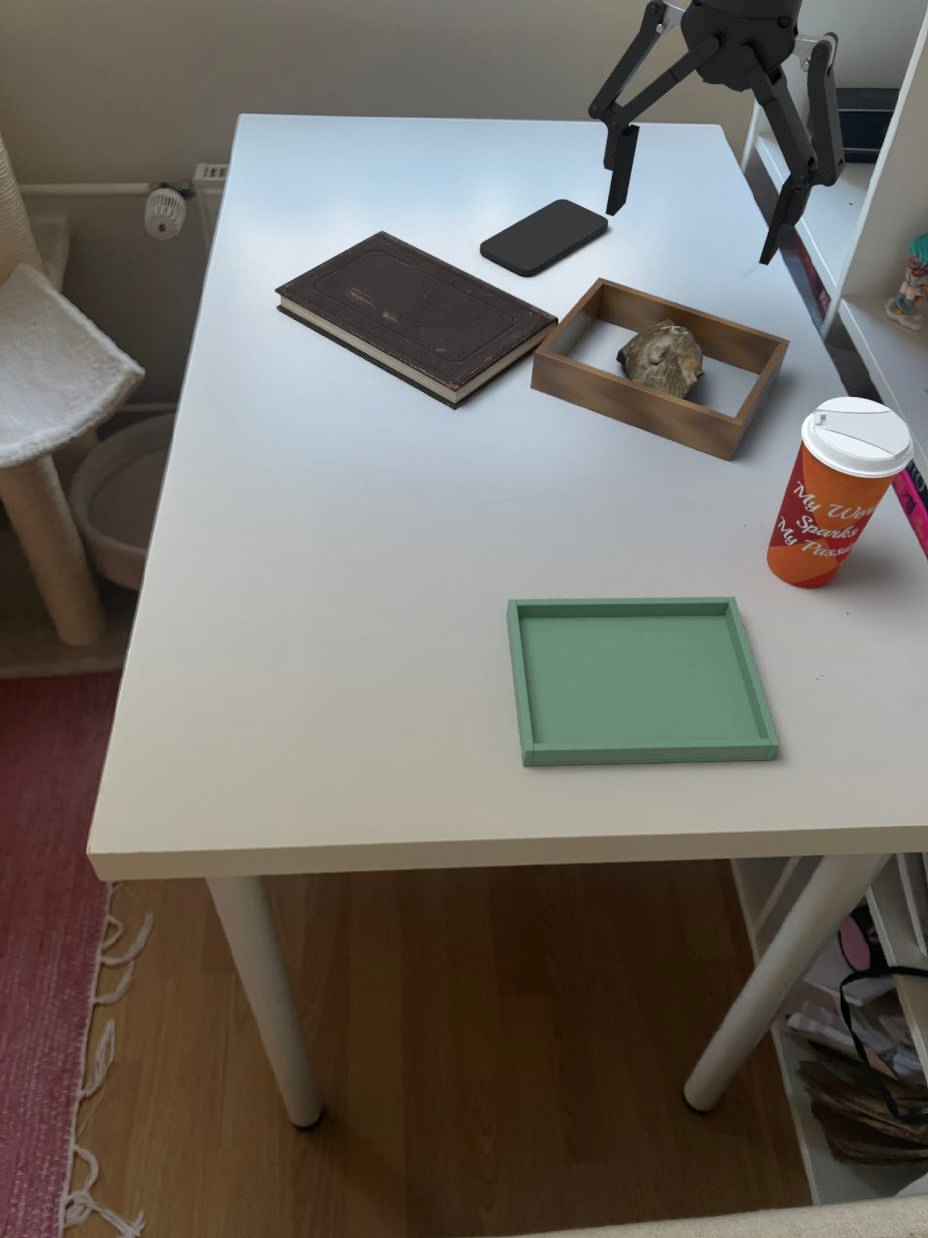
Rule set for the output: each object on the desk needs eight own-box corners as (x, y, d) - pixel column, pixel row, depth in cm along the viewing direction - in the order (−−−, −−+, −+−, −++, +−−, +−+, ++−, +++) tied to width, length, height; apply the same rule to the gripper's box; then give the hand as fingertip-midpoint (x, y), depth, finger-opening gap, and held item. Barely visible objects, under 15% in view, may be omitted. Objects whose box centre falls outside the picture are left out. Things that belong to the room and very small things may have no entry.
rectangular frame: (778, 375, 97) (790, 340, 94) (728, 461, 88) (740, 425, 85) (593, 312, 102) (599, 276, 99) (529, 387, 94) (534, 351, 91)
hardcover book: (454, 409, 91) (455, 389, 89) (276, 309, 100) (274, 288, 98) (557, 334, 99) (560, 314, 98) (385, 247, 108) (385, 227, 106)
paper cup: (750, 587, 79) (805, 450, 68) (755, 520, 84) (808, 383, 73) (851, 608, 78) (923, 473, 67) (850, 540, 83) (918, 403, 72)
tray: (728, 612, 77) (734, 596, 76) (772, 760, 69) (780, 745, 67) (506, 615, 76) (508, 599, 74) (522, 766, 67) (525, 750, 66)
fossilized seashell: (718, 397, 90) (702, 347, 98) (693, 335, 86) (678, 289, 94) (640, 431, 93) (630, 380, 100) (612, 372, 89) (604, 324, 97)
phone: (474, 245, 108) (561, 196, 115) (474, 252, 108) (560, 203, 116) (528, 272, 105) (613, 220, 112) (527, 279, 105) (612, 227, 113)
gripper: (570, -88, 69) (536, 207, 85) (935, -3, 62) (822, 300, 78) (613, -114, 73) (573, 171, 89) (959, -37, 66) (847, 256, 83)
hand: (690, 232), depth 84 cm, fingers open, 13 cm apart
